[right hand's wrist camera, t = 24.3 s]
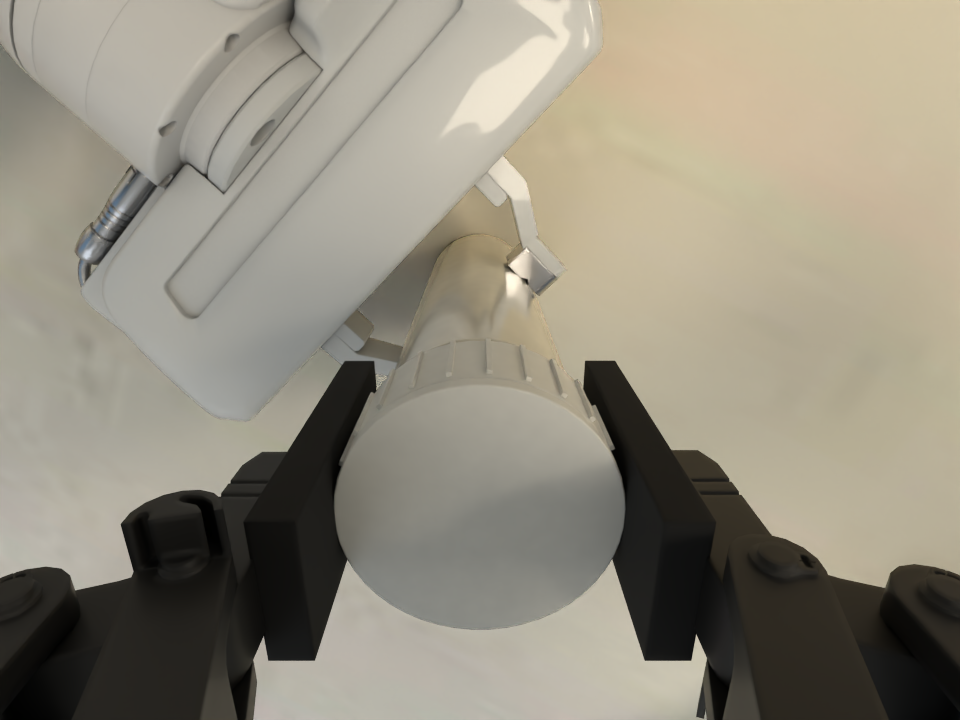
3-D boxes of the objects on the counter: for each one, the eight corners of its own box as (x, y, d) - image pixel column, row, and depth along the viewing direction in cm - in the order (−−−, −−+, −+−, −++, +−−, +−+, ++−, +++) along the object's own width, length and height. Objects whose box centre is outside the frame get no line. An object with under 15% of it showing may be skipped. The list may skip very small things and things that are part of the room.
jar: (542, 254, 28) (640, 423, 11) (506, 341, 29) (542, 605, 12) (450, 219, 27) (401, 340, 10) (418, 309, 29) (331, 542, 12)
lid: (604, 327, 11) (634, 371, 9) (601, 546, 13) (626, 625, 11) (337, 345, 12) (304, 392, 9) (373, 559, 14) (353, 639, 11)
